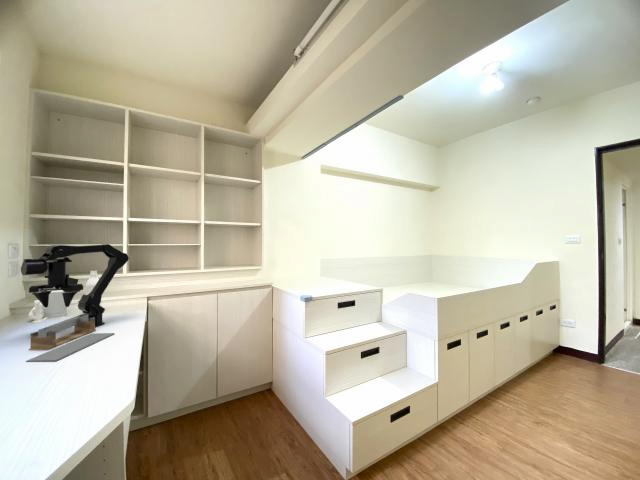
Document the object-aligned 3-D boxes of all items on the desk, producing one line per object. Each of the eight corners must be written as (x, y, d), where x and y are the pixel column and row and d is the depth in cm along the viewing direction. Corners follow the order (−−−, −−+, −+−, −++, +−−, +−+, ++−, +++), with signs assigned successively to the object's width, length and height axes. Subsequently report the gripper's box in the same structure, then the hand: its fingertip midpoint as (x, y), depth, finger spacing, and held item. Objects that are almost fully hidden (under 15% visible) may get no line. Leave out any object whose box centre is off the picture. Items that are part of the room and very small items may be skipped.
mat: (114, 334, 113) (114, 333, 113) (56, 361, 87) (56, 360, 87) (91, 334, 113) (91, 333, 113) (26, 362, 87) (26, 360, 87)
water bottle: (91, 315, 144) (91, 271, 144) (81, 314, 146) (82, 271, 146) (104, 311, 151) (104, 270, 151) (95, 311, 153) (95, 270, 153)
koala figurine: (45, 323, 130) (45, 300, 130) (25, 326, 125) (25, 302, 126) (48, 319, 136) (48, 297, 136) (30, 322, 132) (30, 299, 132)
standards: (80, 331, 117) (80, 317, 118) (95, 330, 118) (95, 317, 118) (28, 351, 96) (28, 334, 96) (48, 350, 96) (48, 333, 96)
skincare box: (66, 314, 145) (66, 289, 145) (65, 317, 140) (65, 290, 140) (45, 317, 139) (45, 291, 140) (43, 320, 135) (43, 292, 135)
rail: (81, 320, 117) (81, 314, 117) (88, 320, 118) (88, 313, 118) (38, 337, 96) (38, 330, 96) (46, 337, 97) (46, 329, 97)
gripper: (93, 270, 122) (93, 302, 122) (53, 270, 121) (53, 303, 121) (71, 273, 111) (71, 308, 110) (27, 273, 110) (27, 309, 110)
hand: (56, 307), depth 113 cm, fingers open, 9 cm apart
